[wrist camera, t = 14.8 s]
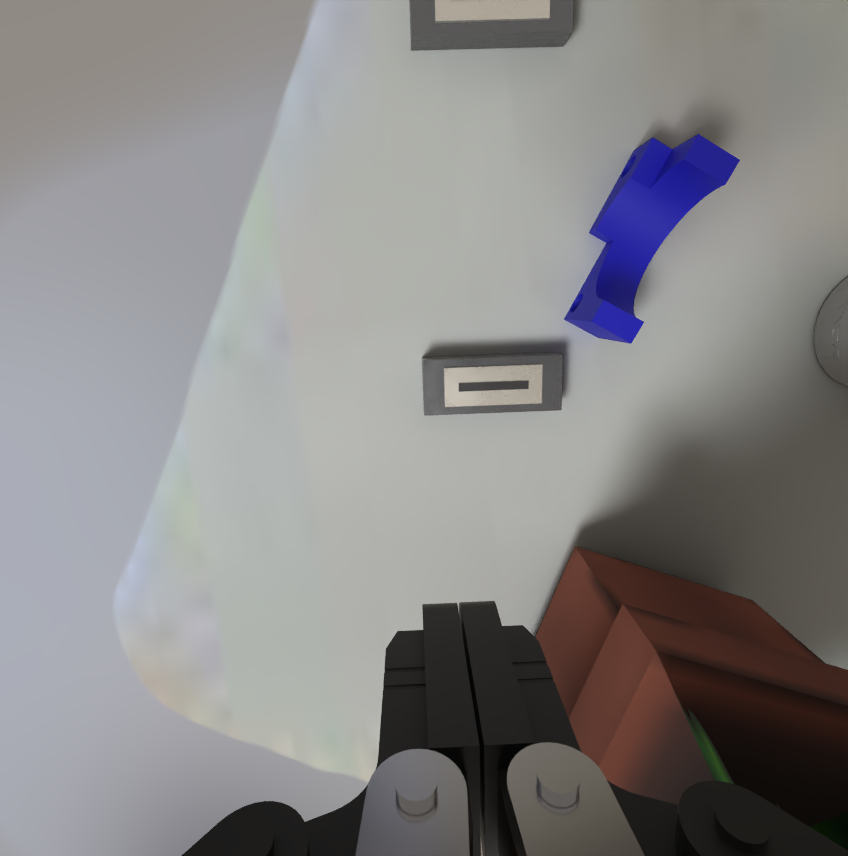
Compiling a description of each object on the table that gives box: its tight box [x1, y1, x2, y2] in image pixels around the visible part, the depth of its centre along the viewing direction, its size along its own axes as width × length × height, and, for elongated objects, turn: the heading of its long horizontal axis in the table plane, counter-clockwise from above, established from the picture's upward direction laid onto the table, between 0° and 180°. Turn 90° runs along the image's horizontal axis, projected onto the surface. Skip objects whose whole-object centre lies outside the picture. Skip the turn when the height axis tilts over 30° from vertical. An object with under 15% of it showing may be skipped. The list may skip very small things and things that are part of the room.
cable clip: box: [564, 134, 740, 343], centre depth 34 cm, size 12×4×6 cm, turn 153°
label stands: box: [409, 0, 574, 415], centre depth 35 cm, size 10×28×2 cm, turn 2°
